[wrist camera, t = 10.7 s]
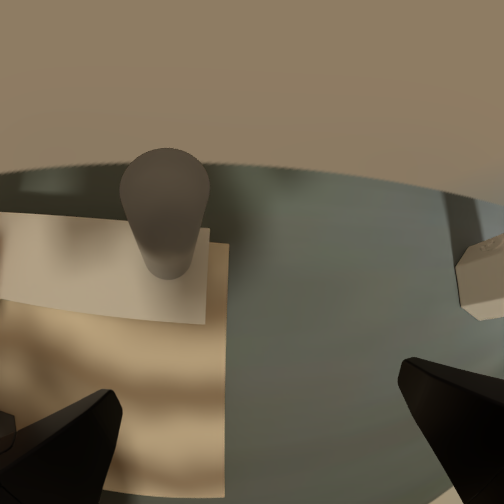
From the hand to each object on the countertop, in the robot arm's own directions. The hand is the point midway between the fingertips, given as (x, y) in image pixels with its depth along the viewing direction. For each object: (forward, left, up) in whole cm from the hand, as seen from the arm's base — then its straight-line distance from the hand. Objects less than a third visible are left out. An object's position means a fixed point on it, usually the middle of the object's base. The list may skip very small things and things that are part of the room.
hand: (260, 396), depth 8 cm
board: (-7, +10, -12) cm, 17 cm away
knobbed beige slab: (-1, +12, -11) cm, 16 cm away
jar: (+20, -23, -12) cm, 33 cm away
